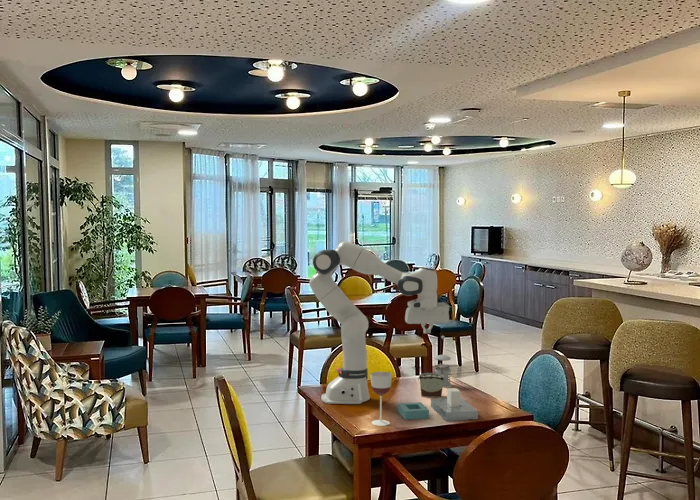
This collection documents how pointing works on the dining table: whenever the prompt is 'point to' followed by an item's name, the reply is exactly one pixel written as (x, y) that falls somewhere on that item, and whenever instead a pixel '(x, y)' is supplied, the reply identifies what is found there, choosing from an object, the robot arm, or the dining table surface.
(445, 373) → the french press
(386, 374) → the wineglass
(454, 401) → the plug
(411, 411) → the teal socket base
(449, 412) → the box
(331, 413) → the dining table surface
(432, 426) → the dining table surface
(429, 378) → the food container
